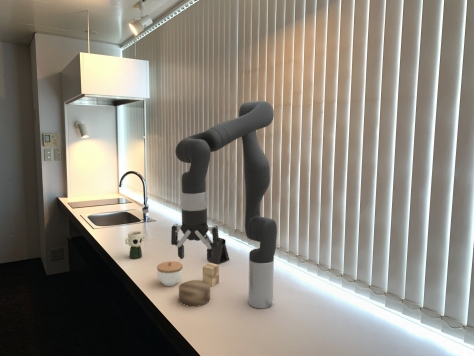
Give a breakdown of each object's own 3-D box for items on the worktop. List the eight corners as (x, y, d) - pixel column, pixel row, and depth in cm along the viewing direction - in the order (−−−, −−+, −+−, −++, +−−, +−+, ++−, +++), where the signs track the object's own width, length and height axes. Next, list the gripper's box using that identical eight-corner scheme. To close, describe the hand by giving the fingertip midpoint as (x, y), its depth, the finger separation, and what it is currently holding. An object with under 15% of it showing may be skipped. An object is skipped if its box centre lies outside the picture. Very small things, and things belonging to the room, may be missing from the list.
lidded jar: (167, 290, 143) (167, 268, 142) (152, 283, 150) (151, 262, 149) (187, 282, 151) (187, 261, 150) (172, 275, 158) (172, 255, 157)
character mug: (129, 261, 174) (128, 236, 173) (122, 258, 179) (121, 233, 178) (148, 256, 182) (148, 232, 180) (141, 253, 187) (141, 229, 185)
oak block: (209, 280, 154) (209, 262, 153) (219, 282, 151) (219, 265, 150) (202, 284, 149) (202, 266, 148) (212, 287, 147) (212, 268, 146)
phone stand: (217, 265, 172) (217, 241, 170) (208, 262, 175) (208, 238, 174) (229, 260, 178) (229, 237, 177) (221, 257, 182) (221, 235, 181)
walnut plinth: (192, 289, 144) (192, 277, 144) (216, 296, 138) (216, 284, 137) (172, 301, 134) (172, 288, 133) (197, 309, 128) (197, 296, 127)
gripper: (220, 204, 106) (221, 255, 109) (175, 203, 109) (177, 253, 111) (214, 210, 99) (215, 265, 101) (166, 208, 102) (168, 262, 104)
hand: (195, 258), depth 106 cm, fingers open, 8 cm apart
